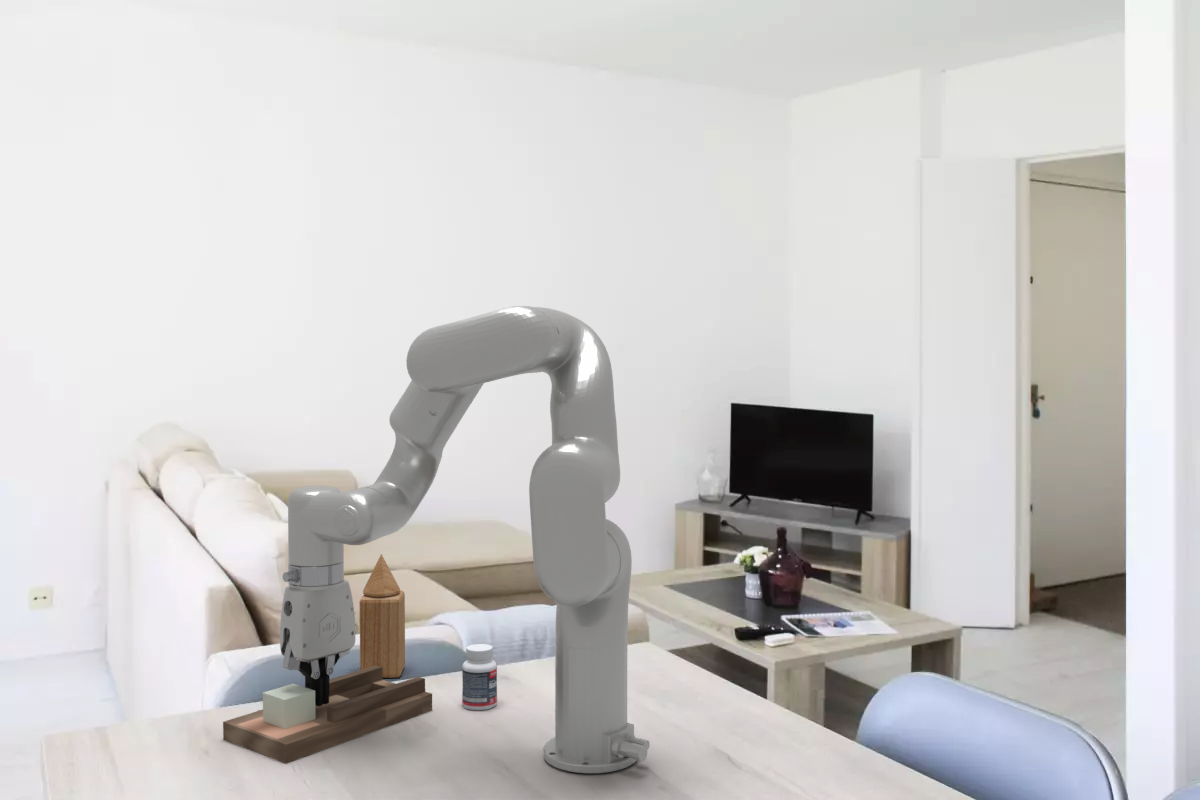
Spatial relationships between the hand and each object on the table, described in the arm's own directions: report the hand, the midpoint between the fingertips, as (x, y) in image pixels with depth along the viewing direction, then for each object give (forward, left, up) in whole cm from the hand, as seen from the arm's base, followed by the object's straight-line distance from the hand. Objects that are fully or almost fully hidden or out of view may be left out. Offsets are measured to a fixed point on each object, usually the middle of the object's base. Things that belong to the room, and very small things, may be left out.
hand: (317, 702), depth 152 cm
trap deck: (0, -2, -4) cm, 4 cm away
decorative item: (+13, -23, -4) cm, 27 cm away
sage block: (0, +5, -1) cm, 5 cm away
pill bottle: (-11, -21, -4) cm, 24 cm away
